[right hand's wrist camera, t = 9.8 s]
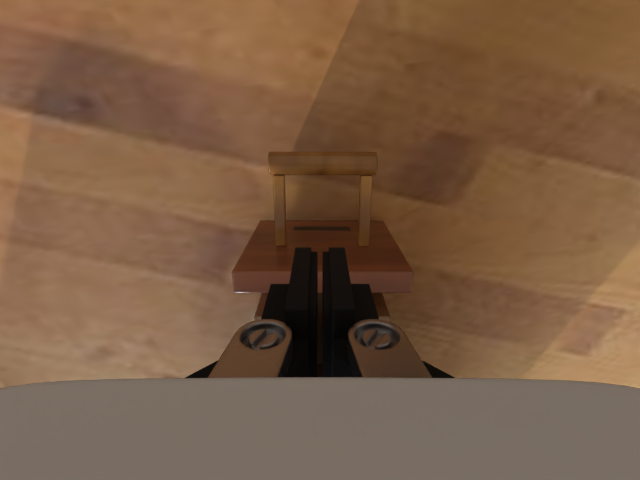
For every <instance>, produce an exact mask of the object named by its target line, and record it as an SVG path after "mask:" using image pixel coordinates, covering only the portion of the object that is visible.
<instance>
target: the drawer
mask: <svg viewBox="0 0 640 480" xmlns="http://www.w3.org/2000/svg"><path fill="white" fill-rule="evenodd" d="M377 164H378V159H377V153H376V152H269V154H268V170H269V174H270V175H274V176H273V189H274V214H275V221H260V222H259V224H258V226H257V228H256V229H255V231H254V233H253V235H252V237H251V238H250V240H249V242H248V244H247V246H246V247H245V249H244V251H243V253H242V255H241V256H240V258H239V260H238V262H237V264H236V265H235V267H234V269H233V271H232V278H233V290H234V292H235V293H262V295H261V298H260V301H259V304H258V307H257V310H256V313H255V316H254V319H255V321H256V320H261V317H262V314H263V310H264V306H265V303H266V299H267V295H268V292H269V288H270V285H271V284H289V281H290V276H291V270H292V264H293V258H294V252H295V247H311V252H317V261H318V343H317V377H323V343H322V261H323V252H329V247H345V252H346V258H347V264H348V270H349V276H350V281H351V284H369V285H370V288H371V292H372V295H373V299H374V303H375V306H376V310H377V314H378V317H379V320H384V321H388V322H390V315H389V312H388V309H387V306H386V303H385V301H384V298H383V295H382V293H411V291H412V281H413V271H412V269H411V267H410V266H409V264H408V262H407V261H406V259H405V257H404V256H403V254H402V252H401V251H400V249H399V247H398V245H397V244H396V242H395V240H394V239H393V237H392V235H391V234H390V232H389V230H388V229H387V227H386V225H385V224H384V222H383V221H370V211H371V192H372V175H376V172H377ZM285 175H360V194H359V219H358V221H286V200H285Z"/></svg>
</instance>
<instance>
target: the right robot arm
mask: <svg viewBox="0 0 640 480" xmlns="http://www.w3.org/2000/svg"><path fill="white" fill-rule="evenodd" d="M317 343H318V261H317V252H311V247H295V252H294V258H293V264H292V270H291V276H290V281H289V284H271V285H270V288H269V292H268V295H267V299H266V303H265V306H264V310H263V314H262V317H261V320H256V321H252V322H250V323H247V324H245V325H244V326H242V327H240V328H239V329H238V331H237V332H236V333H235V334H234V336H233V338H232V339H231V341H230V343H229V344H228V346H227V347H226V349H225V351H224V352H223V354H222V355H221V357H220V359H219V360H218V361H216V362H214V363H212V364H210V365H208V366H207V367H205V368H203V369H201V370H199V371H197V372H195V373H193V374H191V375H190V376H188V377H186V378H164V379H108V380H77V381H57V382H44V383H33V384H26V385H18V386H11V387H6V388H1V389H0V480H640V389H639V388H634V387H629V386H622V385H614V384H606V383H597V382H583V381H566V380H530V379H483V378H454V377H452V376H450V375H449V374H447V373H445V372H443V371H441V370H439V369H437V368H435V367H433V366H432V365H430V364H428V363H426V362H424V361H422V360H421V359H420V357H419V355H418V354H417V352H416V351H415V349H414V347H413V346H412V344H411V343H410V341H409V339H408V338H407V336H406V334H405V333H404V332H403V331H402V329H401V328H400V327H398V326H396V325H395V324H393V323H390V322H388V321H384V320H379V317H378V314H377V310H376V306H375V303H374V299H373V295H372V292H371V288H370V285H369V284H351V281H350V276H349V270H348V264H347V258H346V252H345V247H329V252H323V261H322V343H323V377H317Z"/></svg>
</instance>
